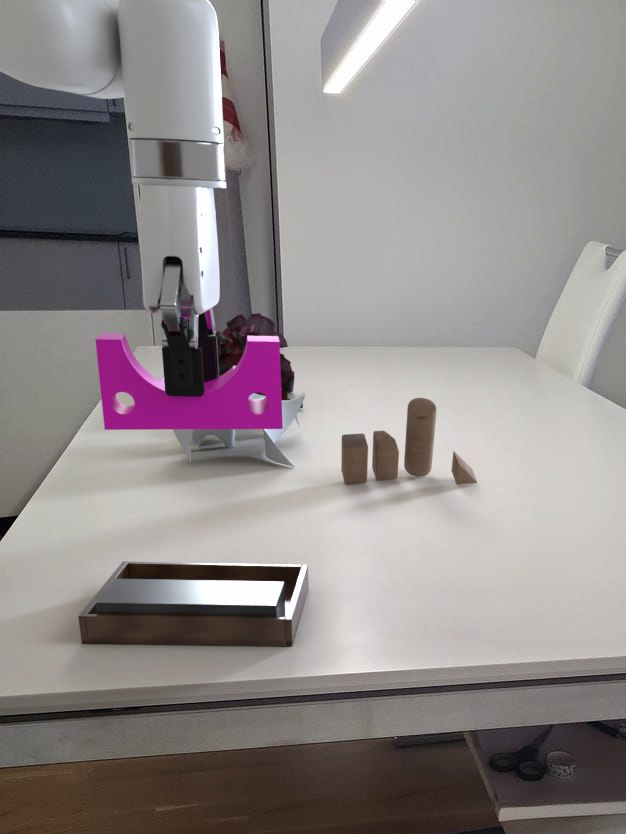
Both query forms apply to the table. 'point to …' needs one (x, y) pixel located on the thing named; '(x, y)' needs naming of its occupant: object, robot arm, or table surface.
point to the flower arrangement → (235, 342)
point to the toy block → (212, 410)
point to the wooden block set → (387, 452)
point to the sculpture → (227, 435)
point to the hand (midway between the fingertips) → (193, 386)
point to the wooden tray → (197, 604)
